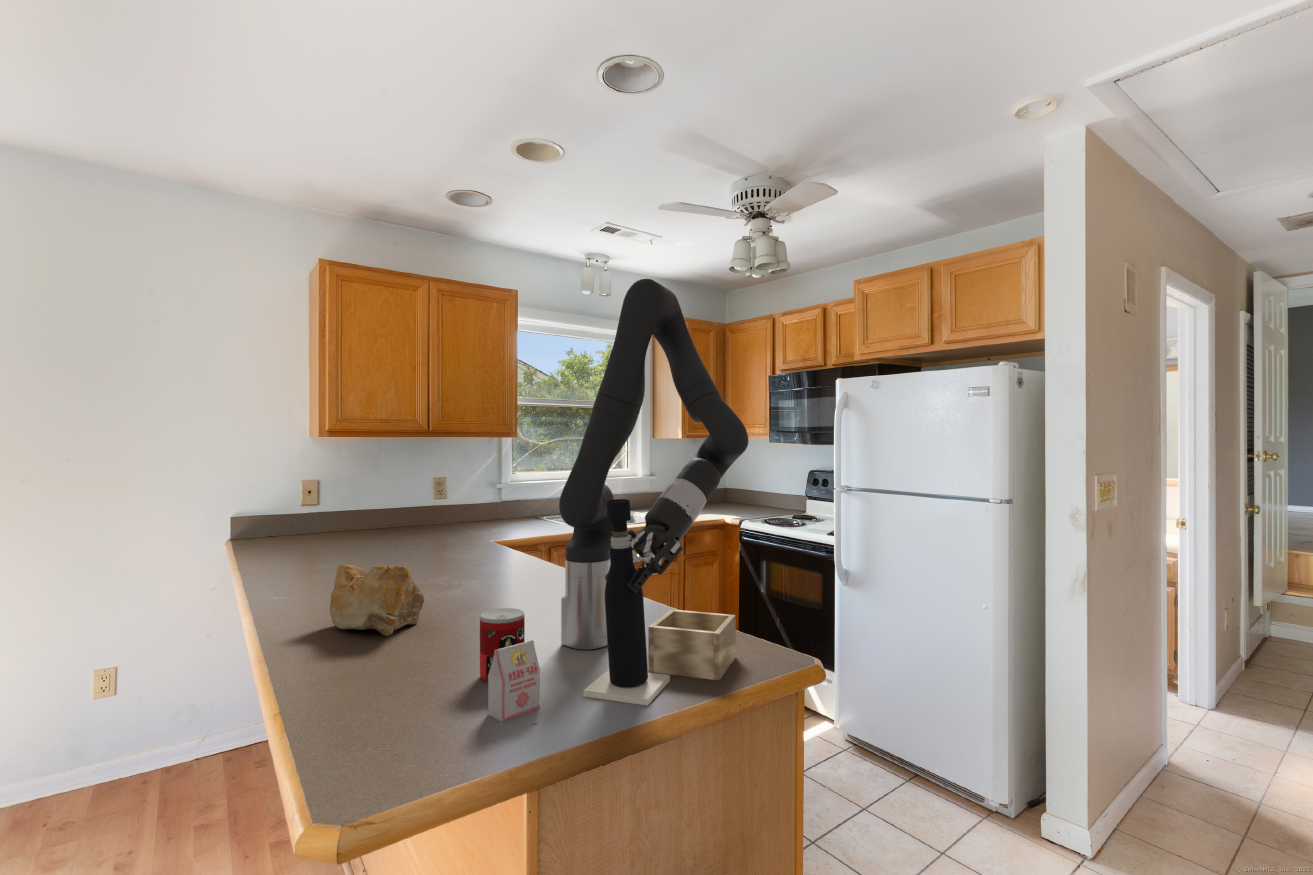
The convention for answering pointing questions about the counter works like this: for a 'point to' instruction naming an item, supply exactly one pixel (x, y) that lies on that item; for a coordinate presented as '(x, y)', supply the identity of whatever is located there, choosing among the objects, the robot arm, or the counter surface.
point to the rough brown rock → (375, 598)
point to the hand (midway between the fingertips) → (619, 585)
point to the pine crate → (692, 644)
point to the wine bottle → (624, 605)
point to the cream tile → (627, 689)
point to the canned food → (499, 634)
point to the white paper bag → (514, 681)
